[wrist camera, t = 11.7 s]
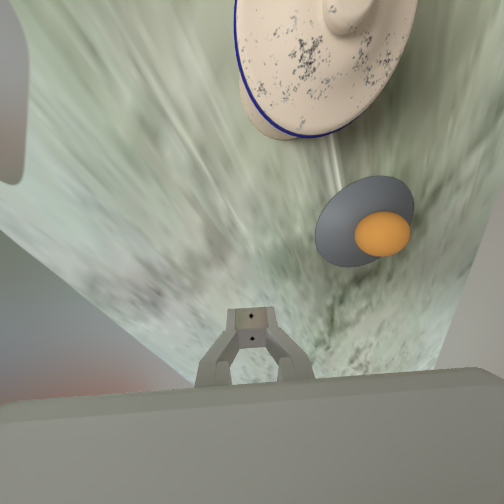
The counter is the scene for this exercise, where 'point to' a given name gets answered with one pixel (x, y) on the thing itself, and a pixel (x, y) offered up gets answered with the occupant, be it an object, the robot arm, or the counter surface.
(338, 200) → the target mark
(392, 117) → the counter surface
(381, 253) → the ball
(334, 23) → the teacup with lid
